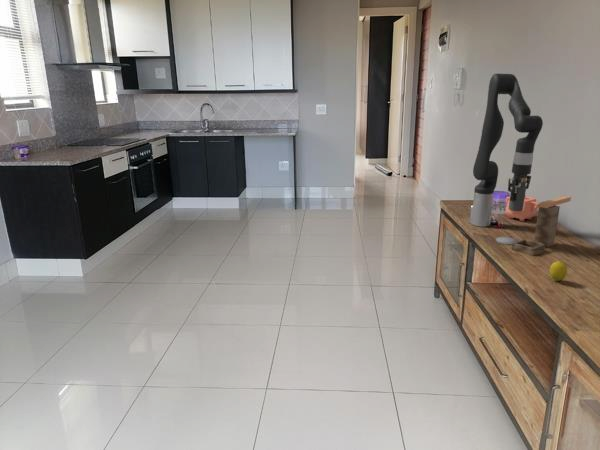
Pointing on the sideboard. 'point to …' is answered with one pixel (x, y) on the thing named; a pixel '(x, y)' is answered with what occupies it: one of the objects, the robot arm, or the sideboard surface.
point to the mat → (506, 240)
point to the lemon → (558, 270)
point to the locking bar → (555, 201)
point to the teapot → (528, 209)
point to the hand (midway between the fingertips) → (516, 199)
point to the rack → (540, 232)
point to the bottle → (518, 197)
